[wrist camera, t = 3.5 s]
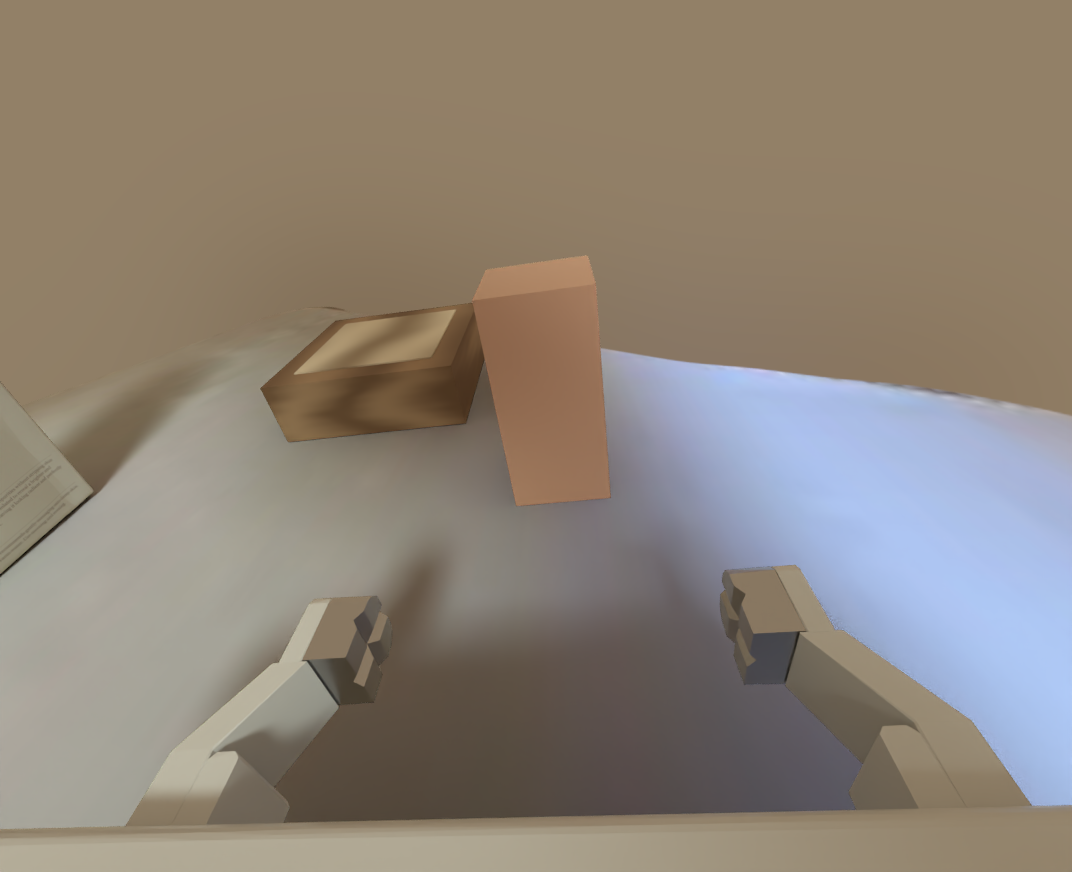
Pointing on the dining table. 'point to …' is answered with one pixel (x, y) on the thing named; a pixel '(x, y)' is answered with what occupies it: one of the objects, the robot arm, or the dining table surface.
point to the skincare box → (31, 482)
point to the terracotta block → (546, 378)
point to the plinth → (381, 375)
